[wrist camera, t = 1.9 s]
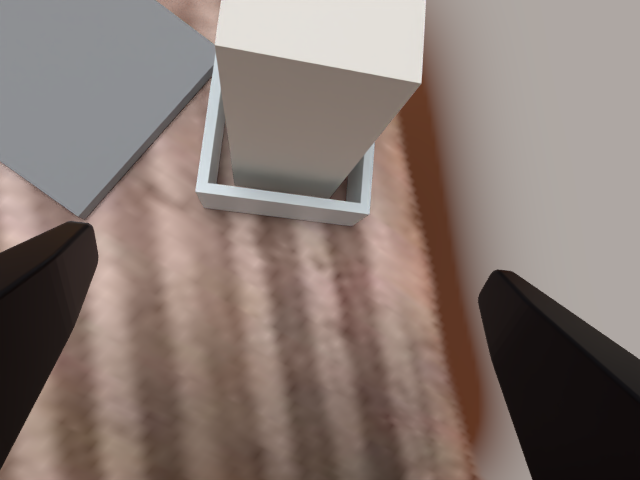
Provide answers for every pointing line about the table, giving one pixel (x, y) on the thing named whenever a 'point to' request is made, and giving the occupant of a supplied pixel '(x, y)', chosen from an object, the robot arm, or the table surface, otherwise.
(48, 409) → the table surface
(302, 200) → the sleeve
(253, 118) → the tall block
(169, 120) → the mat
